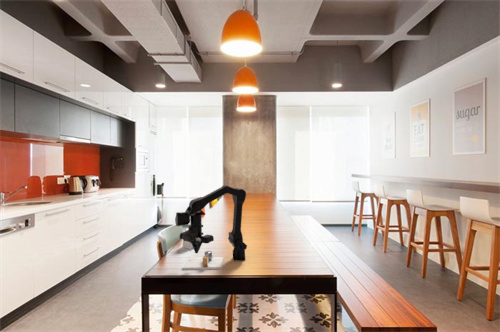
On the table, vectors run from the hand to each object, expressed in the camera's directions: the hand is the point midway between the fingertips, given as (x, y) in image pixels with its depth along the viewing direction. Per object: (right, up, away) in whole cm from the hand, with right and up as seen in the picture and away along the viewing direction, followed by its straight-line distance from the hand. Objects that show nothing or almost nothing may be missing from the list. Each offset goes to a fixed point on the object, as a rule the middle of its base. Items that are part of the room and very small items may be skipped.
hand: (196, 253), depth 149 cm
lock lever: (+5, -6, +4) cm, 8 cm away
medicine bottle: (-10, -6, +33) cm, 35 cm away
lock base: (+3, -7, +4) cm, 9 cm away
